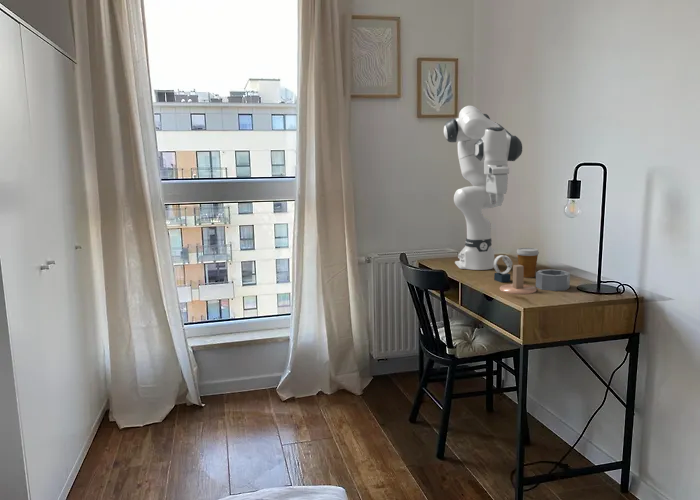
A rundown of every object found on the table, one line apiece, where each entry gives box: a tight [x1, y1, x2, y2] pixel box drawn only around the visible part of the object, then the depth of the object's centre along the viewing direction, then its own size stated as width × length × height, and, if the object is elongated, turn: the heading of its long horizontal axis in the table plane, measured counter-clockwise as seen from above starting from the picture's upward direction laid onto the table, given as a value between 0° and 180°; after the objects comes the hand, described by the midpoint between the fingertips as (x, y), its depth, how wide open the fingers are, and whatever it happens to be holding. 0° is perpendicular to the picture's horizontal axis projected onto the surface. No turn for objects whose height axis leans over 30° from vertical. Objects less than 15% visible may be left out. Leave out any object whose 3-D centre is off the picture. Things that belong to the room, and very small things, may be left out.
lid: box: [499, 264, 537, 295], centre depth 225 cm, size 14×14×10 cm
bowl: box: [535, 269, 571, 292], centre depth 228 cm, size 12×12×6 cm
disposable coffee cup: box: [516, 247, 540, 279], centre depth 249 cm, size 10×10×12 cm
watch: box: [493, 254, 514, 284], centre depth 241 cm, size 6×8×11 cm
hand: (496, 205), depth 221 cm, fingers open, 8 cm apart
